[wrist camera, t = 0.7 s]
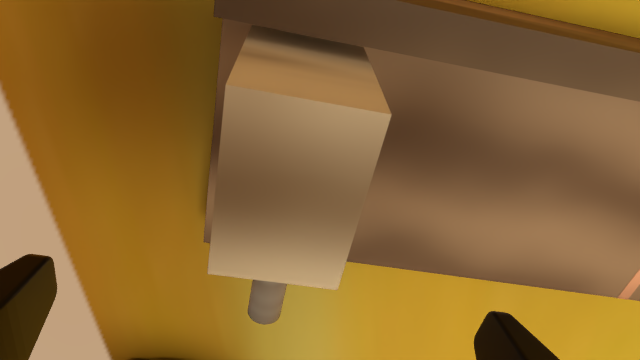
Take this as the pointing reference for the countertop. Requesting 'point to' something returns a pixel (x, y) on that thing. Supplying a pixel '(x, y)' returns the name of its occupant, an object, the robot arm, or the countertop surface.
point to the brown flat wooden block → (483, 139)
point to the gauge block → (293, 163)
